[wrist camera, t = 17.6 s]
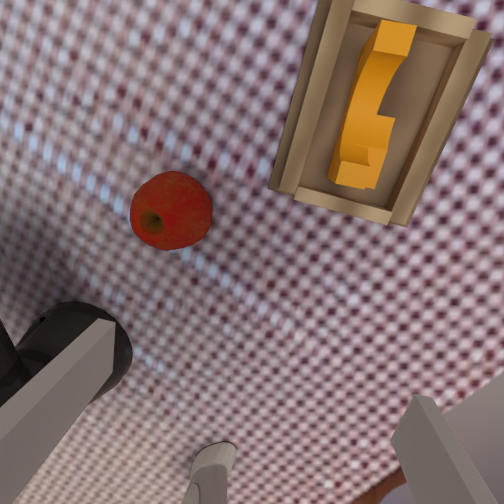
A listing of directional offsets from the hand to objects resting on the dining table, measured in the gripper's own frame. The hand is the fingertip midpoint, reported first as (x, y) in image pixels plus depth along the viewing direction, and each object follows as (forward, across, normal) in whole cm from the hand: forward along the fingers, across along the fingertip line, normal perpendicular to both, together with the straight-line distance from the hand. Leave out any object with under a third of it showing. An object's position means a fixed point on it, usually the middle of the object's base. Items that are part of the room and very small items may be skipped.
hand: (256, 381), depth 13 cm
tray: (+24, +7, +14) cm, 28 cm away
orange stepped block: (+23, +6, +14) cm, 28 cm away
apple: (+25, -11, +1) cm, 27 cm away
